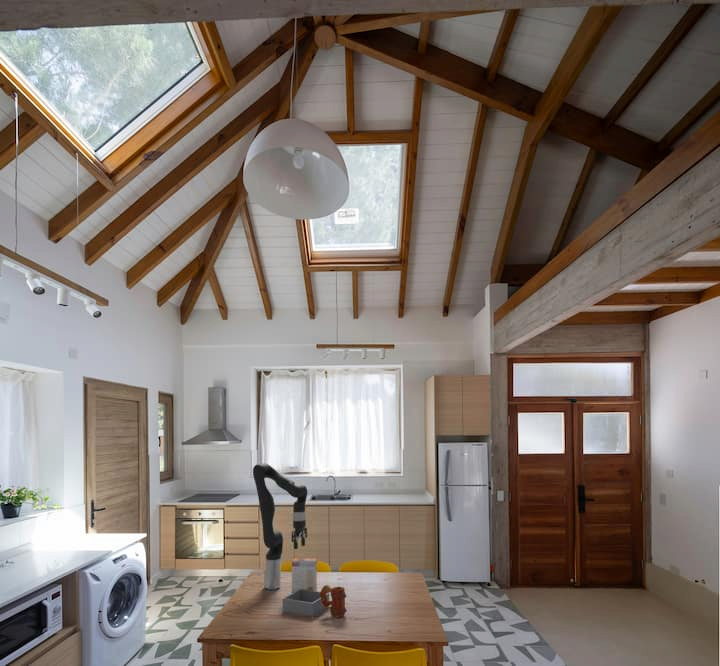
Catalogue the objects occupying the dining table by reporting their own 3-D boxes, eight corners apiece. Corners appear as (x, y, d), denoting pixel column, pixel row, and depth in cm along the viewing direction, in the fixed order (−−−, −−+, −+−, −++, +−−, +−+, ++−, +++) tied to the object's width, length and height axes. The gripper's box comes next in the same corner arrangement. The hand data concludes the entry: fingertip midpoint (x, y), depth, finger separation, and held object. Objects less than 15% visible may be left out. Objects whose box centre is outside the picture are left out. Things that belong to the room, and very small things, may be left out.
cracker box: (316, 595, 330) (317, 558, 333) (315, 598, 325) (315, 560, 327) (293, 594, 332) (294, 557, 335) (291, 597, 326) (291, 560, 329)
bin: (282, 612, 303) (282, 598, 304) (300, 601, 319) (300, 588, 320) (312, 617, 295) (312, 603, 296) (329, 606, 311) (329, 593, 312)
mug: (349, 614, 299) (349, 585, 301) (343, 620, 291) (343, 589, 294) (323, 611, 304) (324, 582, 306) (317, 616, 296) (318, 586, 298)
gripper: (300, 517, 347) (300, 544, 345) (287, 521, 334) (287, 549, 332) (310, 517, 344) (310, 545, 342) (298, 521, 331) (298, 550, 329)
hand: (299, 547), depth 337 cm, fingers open, 8 cm apart
